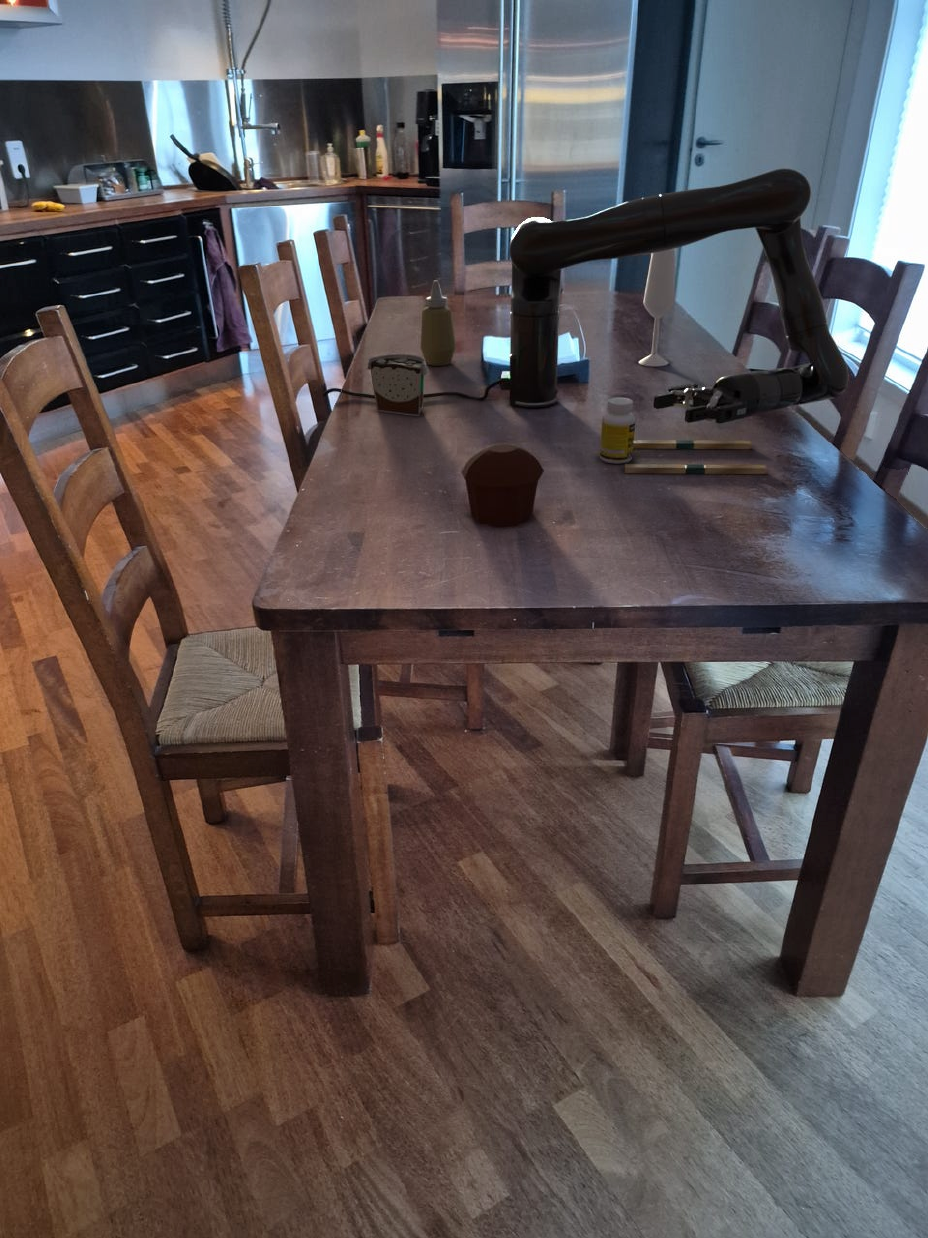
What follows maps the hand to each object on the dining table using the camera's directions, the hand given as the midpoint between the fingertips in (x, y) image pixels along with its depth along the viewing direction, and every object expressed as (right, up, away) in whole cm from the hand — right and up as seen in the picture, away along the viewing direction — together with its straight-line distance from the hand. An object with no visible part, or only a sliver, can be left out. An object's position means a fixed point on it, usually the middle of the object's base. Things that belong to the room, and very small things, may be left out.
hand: (670, 409), depth 144 cm
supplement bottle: (-9, -9, 0) cm, 12 cm away
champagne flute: (+9, +23, +52) cm, 57 cm away
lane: (+3, -9, -1) cm, 9 cm away
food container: (-46, +6, +26) cm, 53 cm away
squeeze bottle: (-40, +24, +56) cm, 73 cm away
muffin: (-29, -20, -18) cm, 40 cm away
